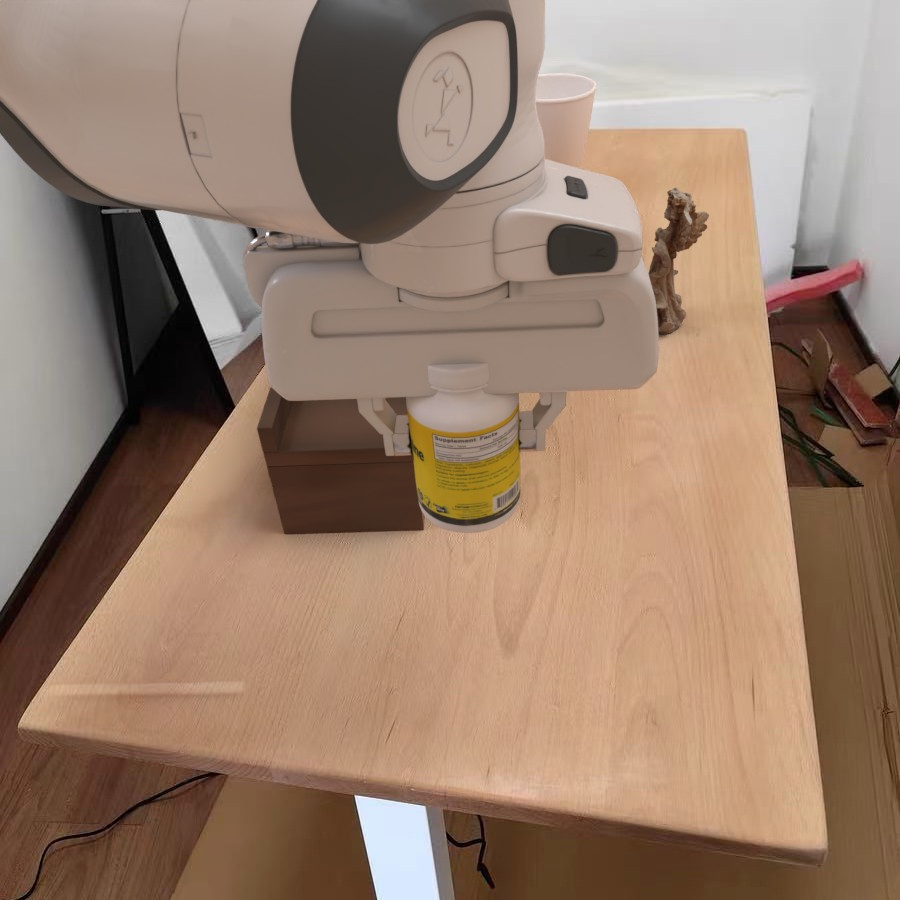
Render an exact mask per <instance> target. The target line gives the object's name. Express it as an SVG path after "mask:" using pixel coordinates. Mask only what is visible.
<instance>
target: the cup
mask: <svg viewBox="0 0 900 900" xmlns="http://www.w3.org/2000/svg"><path fill="white" fill-rule="evenodd" d="M597 89H598V85H597V82H595V80H594V79H592V78H590V77H588V76H584V75H582V74H577V73H576V74H575V73H566V72H565V73H564V72H557V73H555V72H553V73H552V72H551V73H541V74H538V79H537V86H536V109H537V115H538V119H539V122H540V126H541V129H542V133H543V137H544V144H545V159H548V160H551V161H554V162H558V163H561V164H565V165H569V166H573V167H576V168H580V169H583V168H584V163H585V161H584V160H585V154H586V149H587V144H588V137H589V131H590V125H591V119H592V113H593V106H594V102H595V95H596V91H597Z"/></svg>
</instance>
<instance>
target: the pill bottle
mask: <svg viewBox="0 0 900 900" xmlns="http://www.w3.org/2000/svg"><path fill="white" fill-rule="evenodd" d="M428 379H429V383H430V384H431V385H432V386H431V388H433V389H436V390H438V392H437V393H436V395H434V396H423V397H406V406H407V414H408V421H409V428H410V437H411V445H412V453H413V462H414V470H415V479H416V487H417V494H418V501H419V505H420V508H421V510H422V512H423V514H424V517H425V518H426V519H427V520H428V521H429V522H430V523H432V524H433V525H435V526H437V527H438V528H440V529H442V530H446V531H450V532H455V533H459V534H478V533H484V532H487V531H491V530H494V529H496V528H498V527H500V526H501V525H503V524H504V523H506V522H507V521H508V520H509V519H511V517H512V516H513V515H514V514H515V513H516V511H517V510H518V508H519V506H520V502H521V497H522V472H521V452H519V441H520V440H519V411H520V393H511V394H486V393H484V391H483V390H482V388H484V387H486V386H488V384H486V383H487V382H488V381H489V368H488V364H487V363H471V364H443V365H429V366H428Z"/></svg>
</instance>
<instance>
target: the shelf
mask: <svg viewBox="0 0 900 900" xmlns="http://www.w3.org/2000/svg"><path fill="white" fill-rule="evenodd" d="M269 387H270V388H269V391H268V394H267V397H266V399H265V402H264V406H263V409H262V411H261V415H260V417H259V421H258V423H257V427H256V431H257V434H258V438H259V442H260V446H261V450H262V453H263V457H264V461H265V465H266V469H267V474H268V477H269V482H270V484H271V485H270V486H271V489H272V492H273V496H274V500H275V503H276V507H277V511H278V515H279V519H280V523H281V526H282V530H283V534H284V535H295V534H298V535H299V534H328V533H329V534H330V533H331V534H333V533H358V532H359V533H361V532H362V533H363V532H364V533H365V532H393V531H397V532H398V531H423V530H424V529H425V518H426V517H425V515H424V514H423V512H422V510H421V508H420V505H419V501H418V494H417V487H416V479H415V470H414V462H413V453H412V455H404V456H386V453H385V446H384V440H383V434H380V433H379V432H378V431H377V430H376V429H375V428H374V427H373V426H372V425H371V424H370V423H369V422H368V421H367V420H366V419H365V418H364V417H363V416H362V415H361V414H360V412H359V409H358V403H357V399H336V400H307V401H289V400H286V399H285V398H283V397H282V396H281V395H280V394H278V393H277V392H276V391H275V390H274V389H273V388H272V387H271V386H269ZM385 400H386V402H387V403H388V404H389V405H390V407H391V408H392V409H393V410H394V412H395V413H396V414H397V415H408V414H407V406H406V397H395V398H385Z"/></svg>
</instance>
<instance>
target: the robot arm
mask: <svg viewBox="0 0 900 900" xmlns="http://www.w3.org/2000/svg"><path fill="white" fill-rule="evenodd" d="M545 49H546V0H0V136H1V137H2V139H4V141H5V142H6V143H7V144H8V145H9V146H10V148H11V149H12V150H13V151H14V153H15V154H17V156H18V157H19V158H20V159H21V160H22V161H23V162H24V163H25V164H26V165H27V167H29V168H30V169H31V170H32V171H33V172H34V173H35V174H36V175H37V176H39V177H40V178H41V179H42V180H43V181H45V182H46V183H47V184H48V185H50V186H51V187H53V188H55V189H56V190H58V191H59V192H61V193H63V194H64V195H67V196H69V197H71V198H74V199H75V200H78V201H81V202H83V203H87V204H91V205H95V206H101V207H112V208H123V209H133V210H145V211H146V210H147V211H163V212H164V211H165V212H171V213H175V214H181V215H185V216H189V217H194V218H195V217H196V218H201V219H205V220H211V221H216V222H221V223H226V224H231V225H236V226H241V227H246V228H252V229H257V230H265V233H264V234H261V235H257V236H256V237H255V238H253V239H252V240H250V242H249V243H248V244H247V246H246V247H245V249H244V252H243V254H242V267H243V272H244V276H245V280H246V284H247V289H248V292H249V294H250V296H251V298H252V299H253V301H254V302H255V303H256V304H257V305H258V306H259V307H260V308H261V336H262V349H263V357H264V358H263V359H264V366H265V372H266V377H267V382H268V384H269V387H272V388H273V389H274V390H275V391H276V392H277V393H278V394H280V395H281V396H282V397H283V398H285V399H286V400H289V401H307V400H336V399H357V403H358V409H359V412H360V414H361V415H362V416H363V417H364V418H365V419H366V420H367V421H368V422H369V423H370V424H371V425H372V426H373V427H374V428H375V429H376V430H377V431H378V432H379V433H380V434H383V440H384V446H385V453H386V456H404V455H412V445H411V437H410V428H409V421H408V415H397V414H396V413H395V412H394V410H393V409H392V408H391V407H390V405H389V404H388V403H387V402H386V400H385V398H395V397H423V396H434V395H436V393H437V392H438V390H436V389H433V388H431V386H432V385H431V384H430V383H429V379H428V366H429V365H443V364H471V363H487V364H488V368H489V381H488V382H487V383H486V384H488V386H486V387H484V388H482V390H483V391H484V393H486V394H511V393H519V394H539V399H538V400H537V402H536V403H535V405H534V406H533V408H532V410H523V411H522V410H521V411H520V410H519V440H520V441H519V452H520V453H523V452H524V453H528V452H531V453H533V452H534V453H535V452H546V430H548V429H549V428H550V427H551V426H552V424H553V423H554V422H555V420H556V419H557V418H558V417H559V415H560V414H561V413H562V411H563V410H564V409H565V408H566V406H567V393H568V392H596V391H598V392H599V391H624V390H625V391H627V390H629V391H630V390H638V389H641V388H642V387H643V386H645V385H646V384H647V383H648V382H649V381H650V380H651V379H652V378H653V377H654V375H656V373H657V371H658V365H659V349H660V345H659V344H660V343H659V342H660V341H659V338H660V337H659V336H660V334H658V318H657V308H656V301H655V296H654V292H653V289H652V285H651V281H650V278H649V270H648V268H647V266H646V265H647V264H646V263H645V260H644V257H643V241H644V240H643V239H644V238H643V237H644V236H643V225H642V220H641V217H640V212H639V209H638V207H637V204H636V202H635V200H634V198H633V196H632V194H631V192H630V191H629V189H628V188H627V187H626V185H625V183H624V182H623V181H622V180H620V179H619V178H617V177H614V176H611V175H607V174H604V173H600V172H596V171H592V170H588V169H583V168H582V169H580V168H576V167H573V166H569V165H565V164H561V163H558V162H554V161H551V160H548V159H545V144H544V137H543V133H542V129H541V126H540V122H539V119H538V115H537V109H536V86H537V79H538V75H539V73H540V71H541V67H542V64H543V59H544V55H545ZM265 244H266V245H265Z"/></svg>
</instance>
